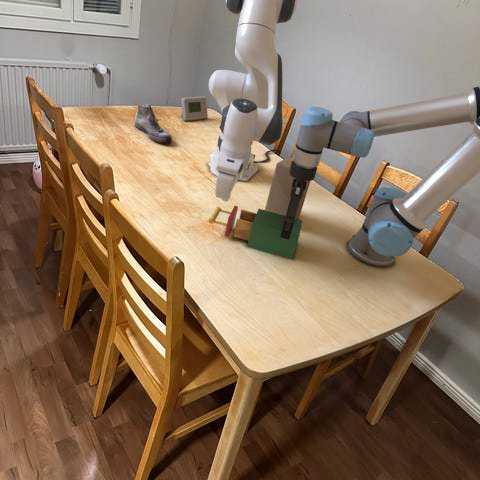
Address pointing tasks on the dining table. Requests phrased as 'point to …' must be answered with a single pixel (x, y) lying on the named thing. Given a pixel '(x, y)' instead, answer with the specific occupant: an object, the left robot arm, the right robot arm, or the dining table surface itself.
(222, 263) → the dining table surface
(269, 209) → the wooden block
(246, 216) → the drawer
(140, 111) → the shoe
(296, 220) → the cabinet
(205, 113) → the digital clock
